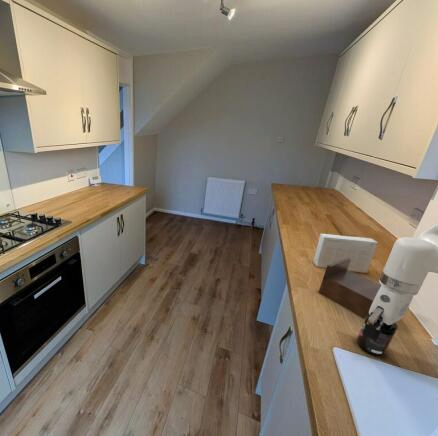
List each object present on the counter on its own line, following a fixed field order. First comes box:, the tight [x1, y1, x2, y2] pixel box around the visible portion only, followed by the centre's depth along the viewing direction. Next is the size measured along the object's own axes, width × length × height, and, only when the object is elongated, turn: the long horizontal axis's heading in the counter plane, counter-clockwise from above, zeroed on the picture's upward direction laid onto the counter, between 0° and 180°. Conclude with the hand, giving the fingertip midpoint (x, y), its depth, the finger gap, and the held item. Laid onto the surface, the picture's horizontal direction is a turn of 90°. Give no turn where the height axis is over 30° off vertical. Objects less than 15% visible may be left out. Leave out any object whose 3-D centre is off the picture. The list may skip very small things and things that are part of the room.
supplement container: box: [355, 313, 398, 357], centre depth 71 cm, size 7×7×10 cm
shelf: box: [318, 258, 381, 320], centre depth 91 cm, size 16×14×13 cm
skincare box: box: [312, 233, 379, 274], centre depth 112 cm, size 21×6×16 cm, turn 74°
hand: (376, 332), depth 70 cm, fingers closed on supplement container, 6 cm apart
